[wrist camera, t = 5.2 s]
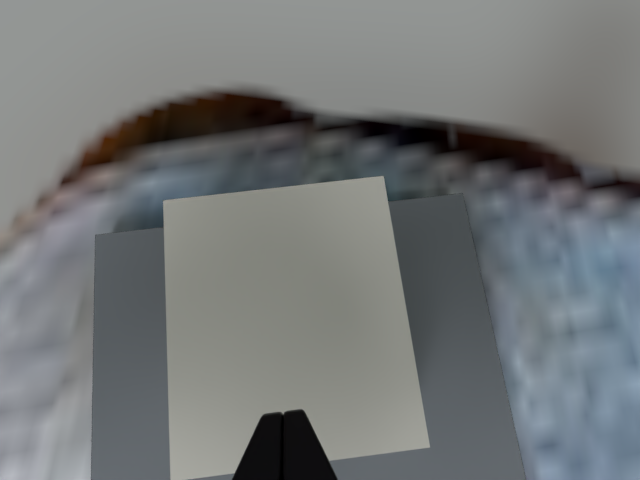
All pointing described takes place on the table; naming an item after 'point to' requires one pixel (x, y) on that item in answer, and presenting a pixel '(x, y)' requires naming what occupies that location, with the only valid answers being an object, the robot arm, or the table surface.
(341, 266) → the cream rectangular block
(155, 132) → the table surface
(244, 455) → the robot arm
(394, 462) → the mat
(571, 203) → the table surface
